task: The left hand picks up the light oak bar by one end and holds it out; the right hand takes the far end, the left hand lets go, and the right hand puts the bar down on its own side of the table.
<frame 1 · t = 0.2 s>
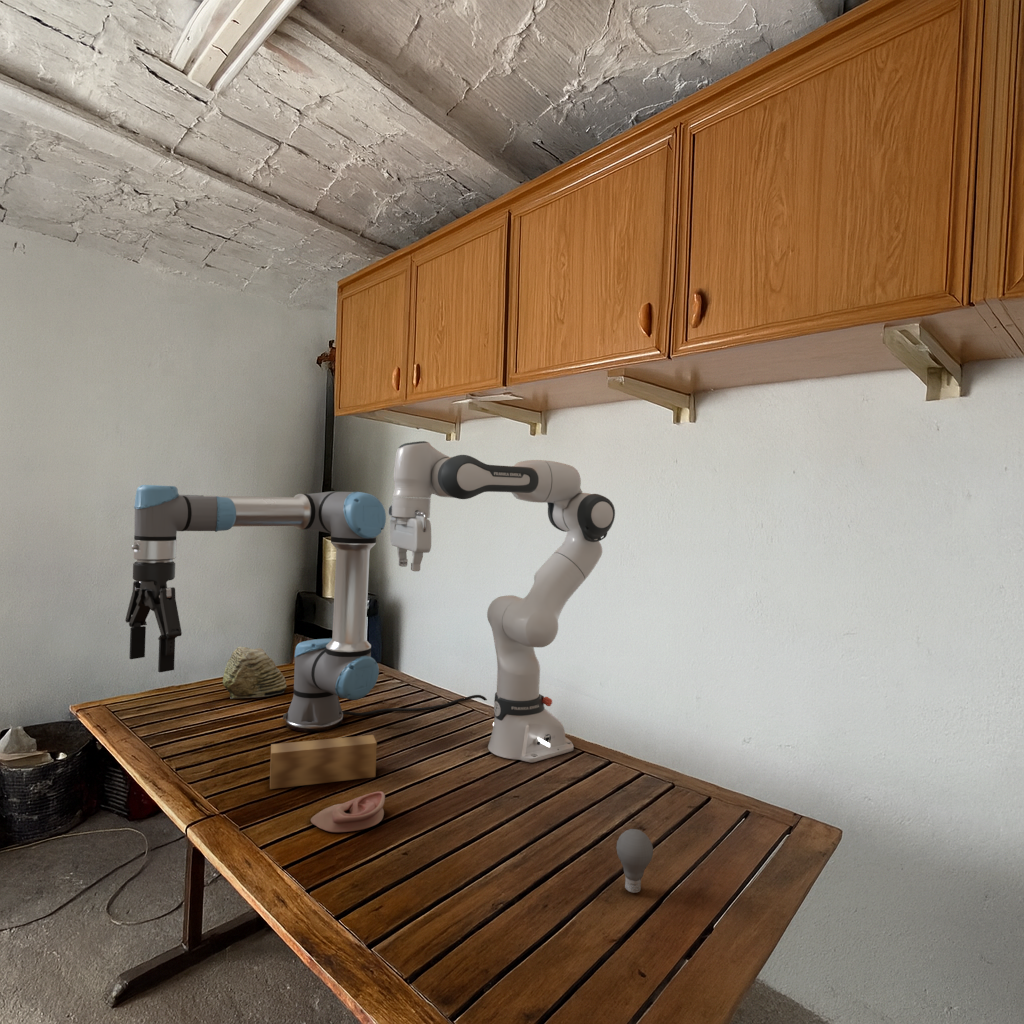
left hand: (151, 664, 129), 28 cm above the table, tool pointing down, fingers open, 13 cm apart
right hand: (409, 568, 149), 47 cm above the table, tool pointing down, fingers open, 8 cm apart
fossil: (254, 694, 198), on the table
light bulb: (632, 891, 106), on the table
anatomical model: (348, 819, 125), on the table
bar: (323, 778, 143), on the table
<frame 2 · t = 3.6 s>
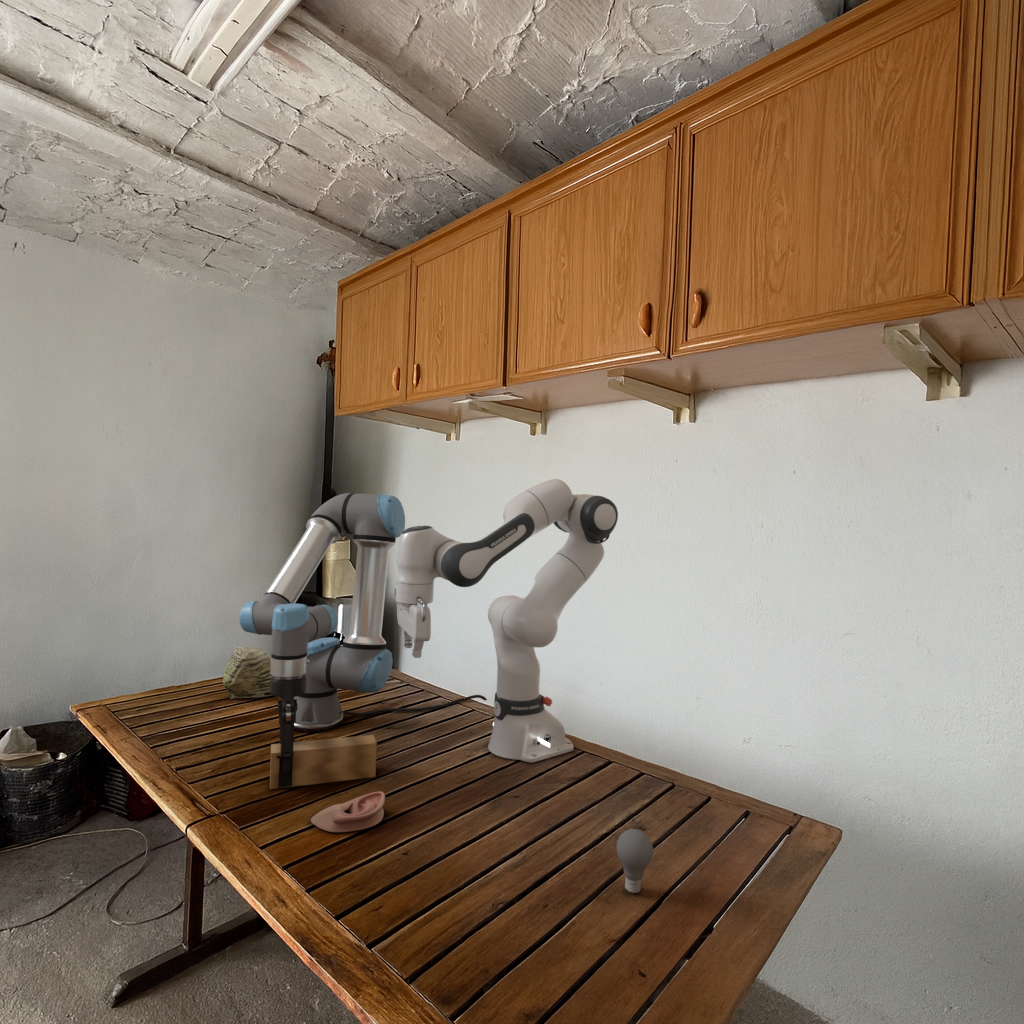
left hand: (284, 779, 140), 1 cm above the table, tool pointing down, fingers closed on bar, 5 cm apart
right hand: (412, 652, 150), 27 cm above the table, tool pointing down, fingers open, 8 cm apart
bar: (323, 778, 143), on the table, touching left hand
everything else where it was.
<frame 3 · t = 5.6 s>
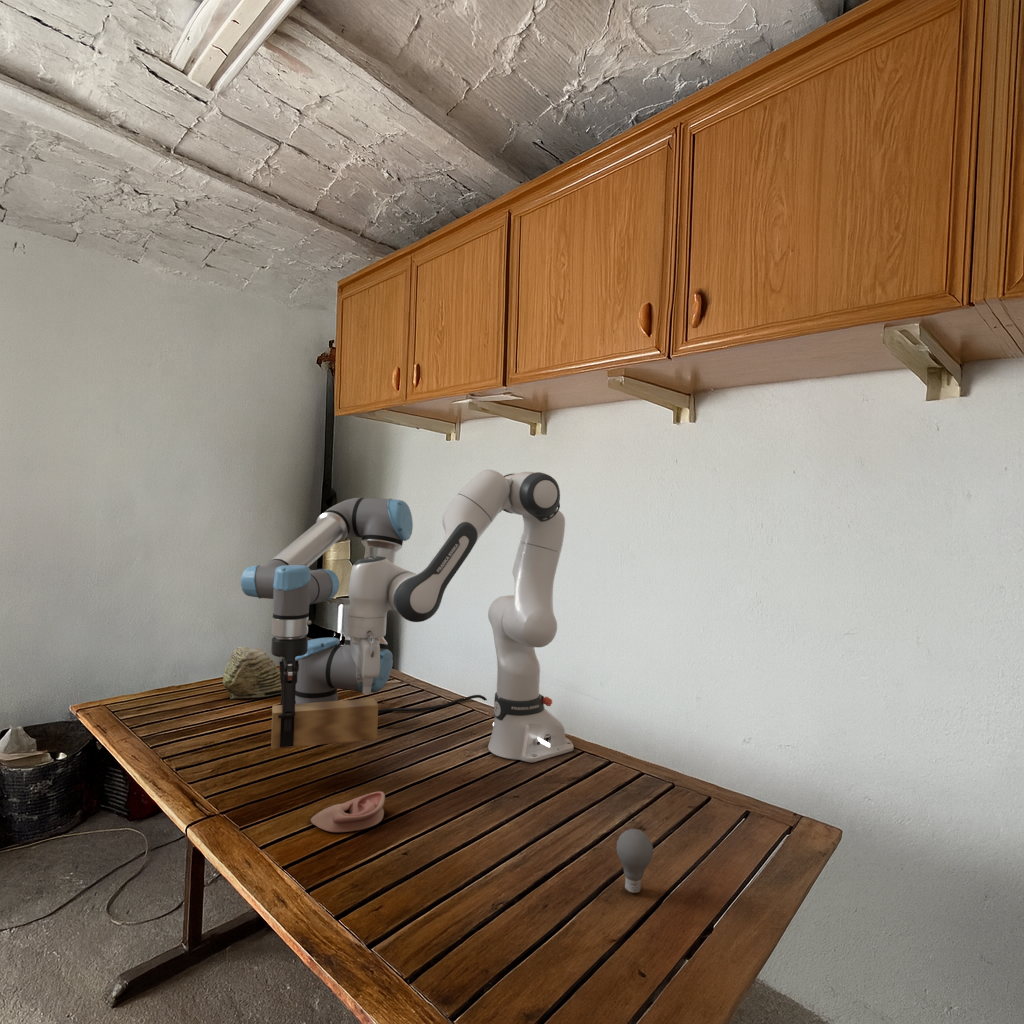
left hand: (286, 740, 139), 9 cm above the table, tool pointing down, fingers closed on bar, 5 cm apart
right hand: (363, 687, 145), 20 cm above the table, tool pointing down, fingers open, 8 cm apart
bar: (324, 739, 142), point 9 cm above the table, touching left hand
everything else where it was.
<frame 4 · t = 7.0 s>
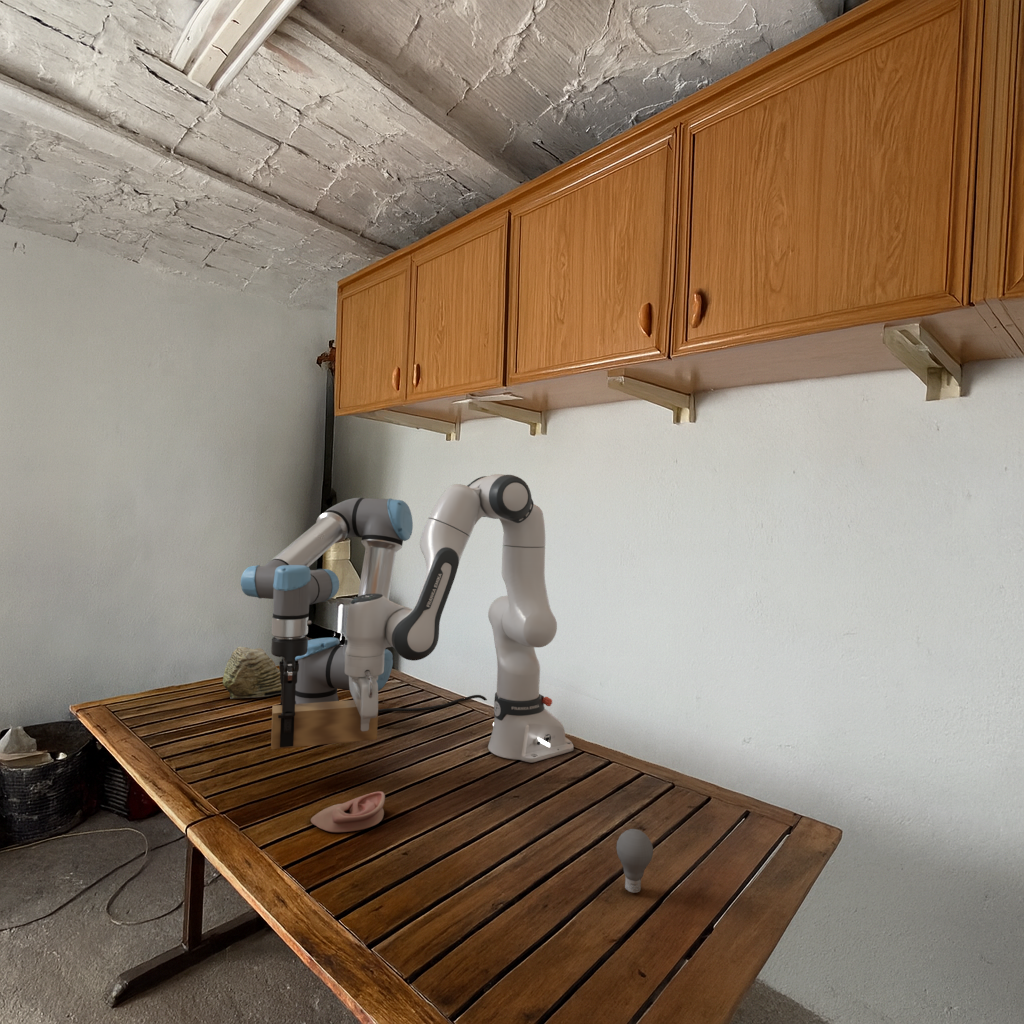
left hand: (286, 740, 139), 9 cm above the table, tool pointing down, fingers closed on bar, 5 cm apart
right hand: (362, 724, 145), 11 cm above the table, tool pointing down, fingers closed on bar, 5 cm apart
bar: (324, 739, 142), point 9 cm above the table, touching left hand, right hand
everything else where it was.
when the left hand's fingers open (9 cm above the table, at t = 7.9 s): bar stays where it is, held by the right hand.
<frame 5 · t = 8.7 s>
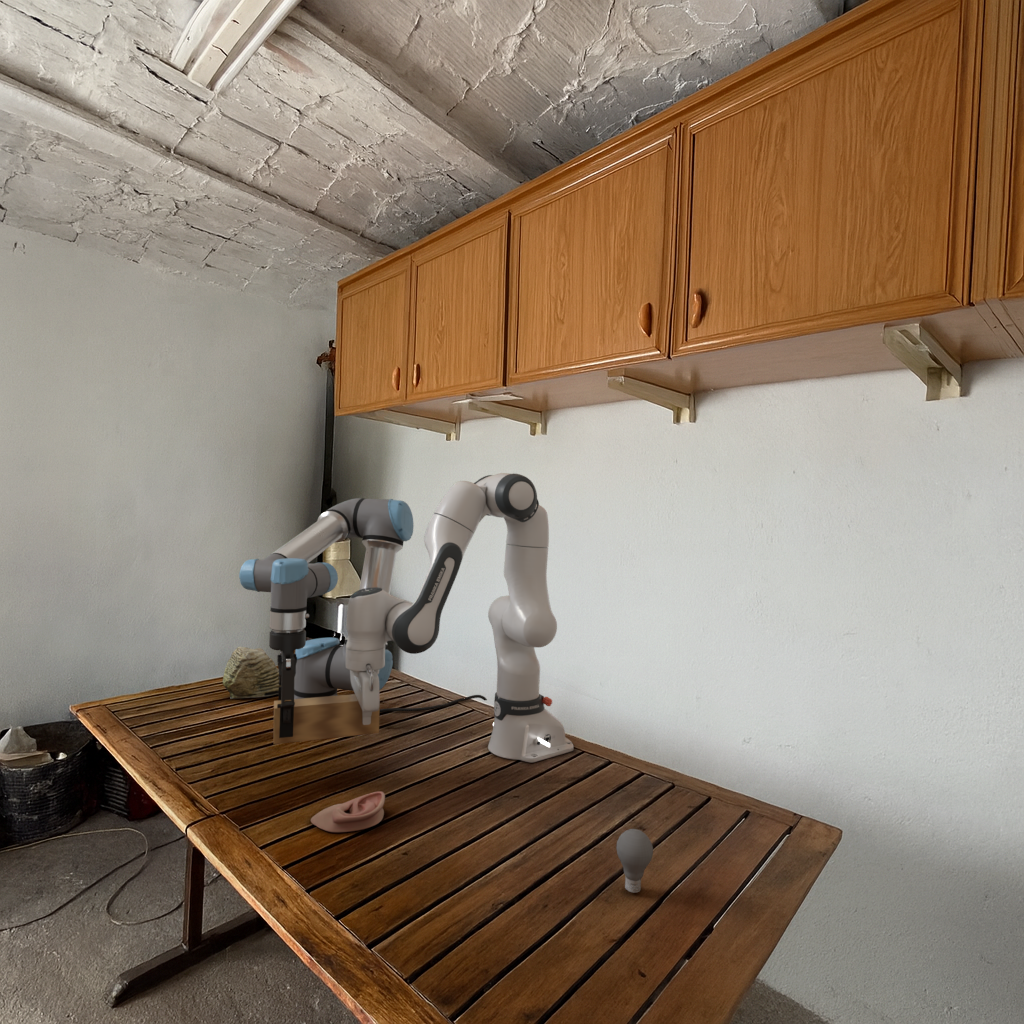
left hand: (285, 725, 139), 13 cm above the table, tool pointing down, fingers open, 13 cm apart
right hand: (364, 718, 146), 13 cm above the table, tool pointing down, fingers closed on bar, 5 cm apart
bar: (326, 734, 143), point 10 cm above the table, touching right hand
everything else where it was.
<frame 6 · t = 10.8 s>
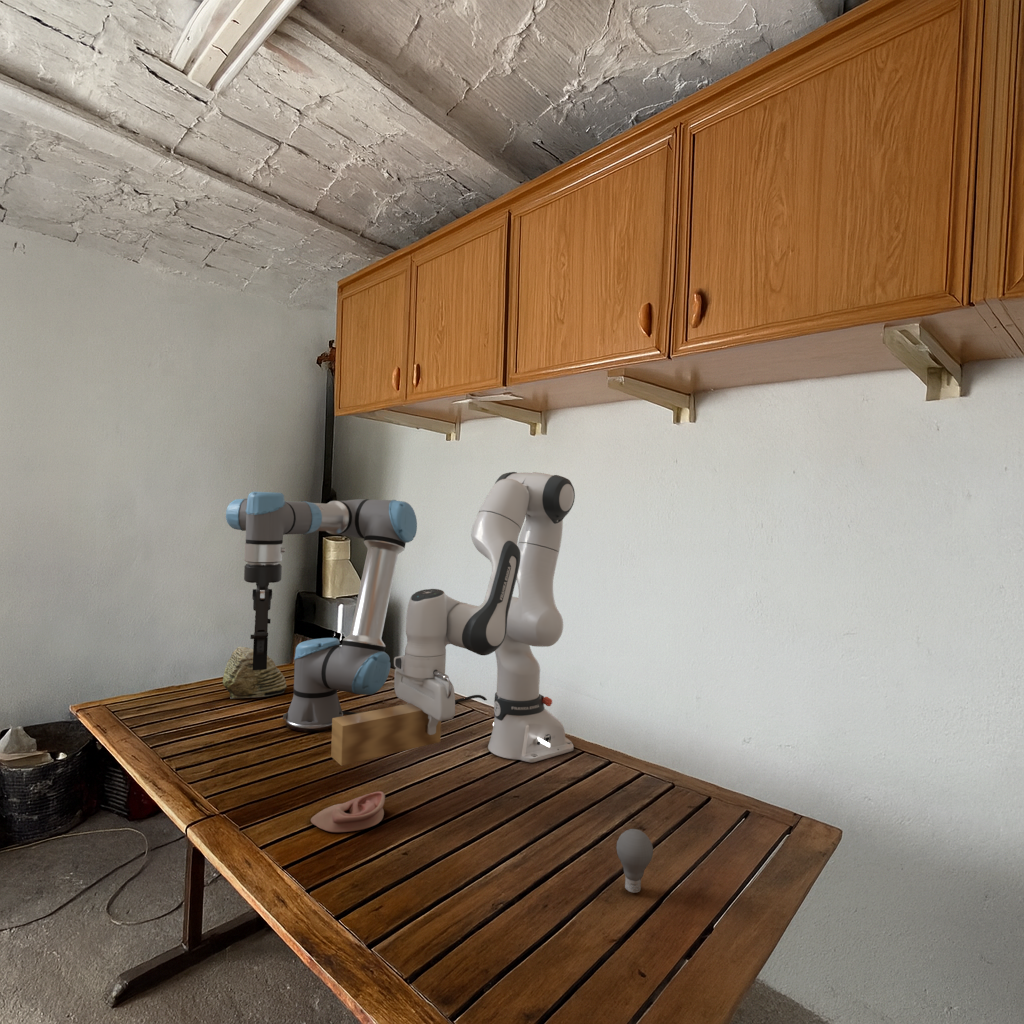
left hand: (259, 661, 137), 27 cm above the table, tool pointing down, fingers open, 13 cm apart
right hand: (422, 728, 137), 14 cm above the table, tool pointing down, fingers closed on bar, 5 cm apart
bar: (387, 749, 132), point 11 cm above the table, touching right hand
everything else where it was.
when the right hand's fingers open (4 cm above the table, at t = 14.8 s): bar stays where it is, on the table.
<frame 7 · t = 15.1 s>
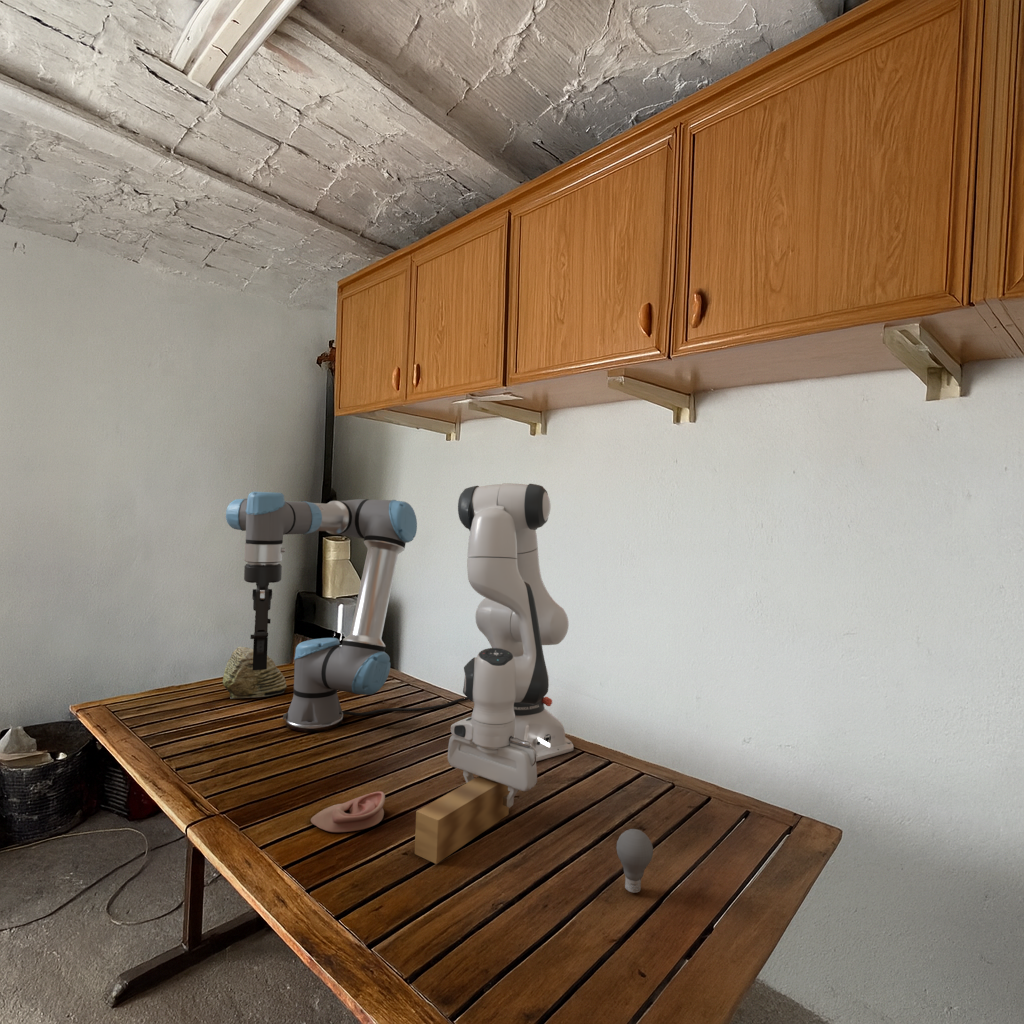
left hand: (259, 661, 137), 27 cm above the table, tool pointing down, fingers open, 13 cm apart
right hand: (489, 798, 128), 4 cm above the table, tool pointing down, fingers open, 8 cm apart
bar: (464, 833, 122), on the table
everything else where it was.
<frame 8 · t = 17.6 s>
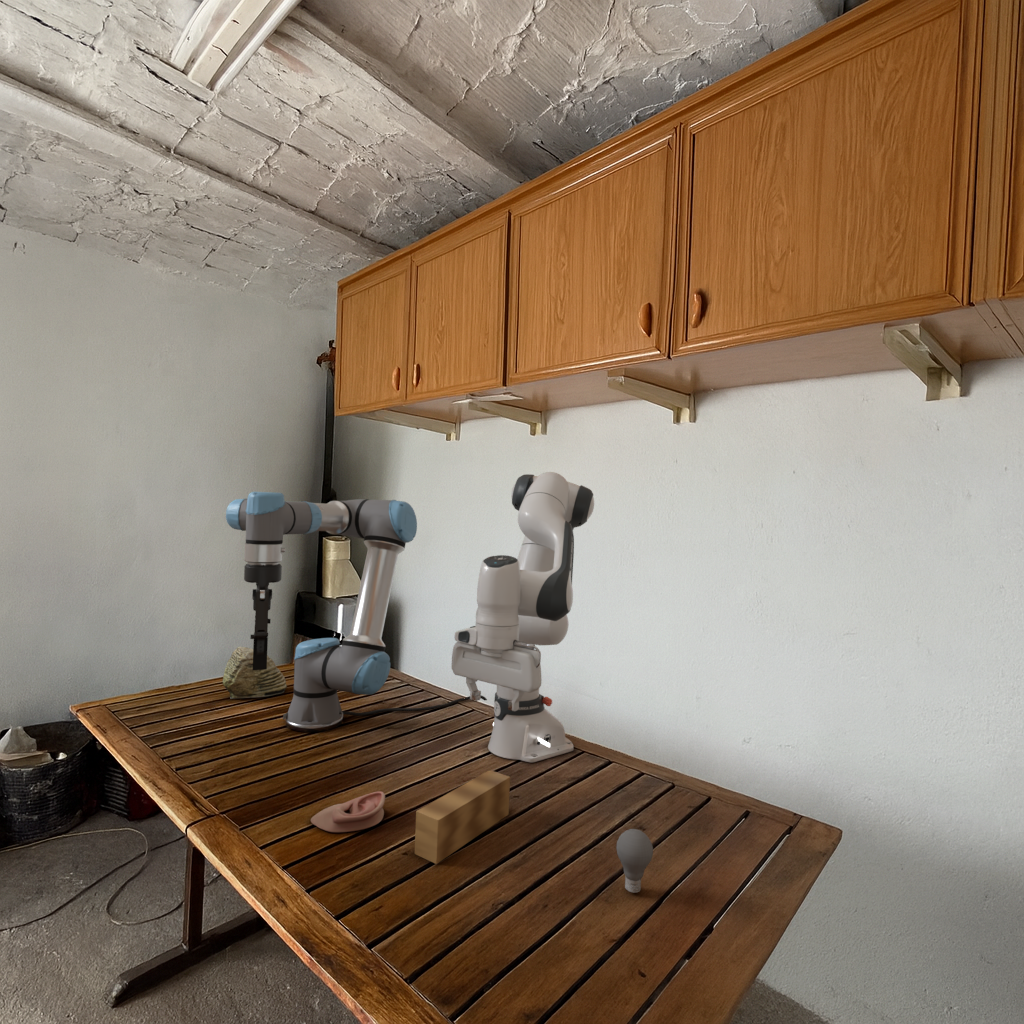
left hand: (259, 661, 137), 27 cm above the table, tool pointing down, fingers open, 13 cm apart
right hand: (493, 704, 128), 23 cm above the table, tool pointing down, fingers open, 8 cm apart
nothing on the table moved.
at the end: bar inside the target area (8.0 cm from its centre), on the table; the left hand is holding nothing; the right hand is holding nothing; bar at rest at the end (0.0 cm/s) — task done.
